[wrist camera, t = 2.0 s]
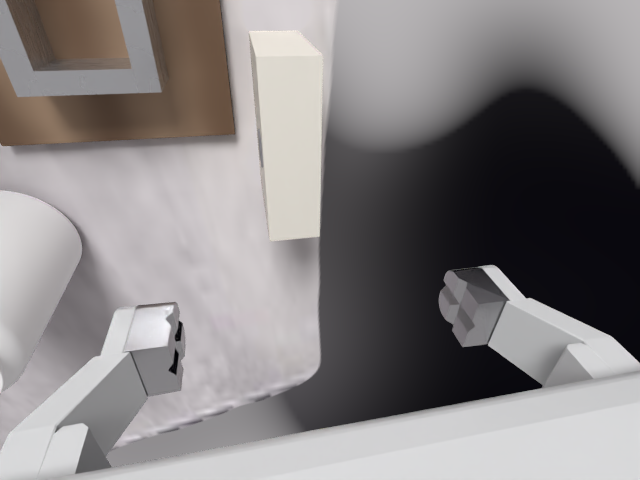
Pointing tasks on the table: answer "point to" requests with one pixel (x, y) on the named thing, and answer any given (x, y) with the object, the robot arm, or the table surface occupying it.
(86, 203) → the table surface
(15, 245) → the beverage can
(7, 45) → the bottom track
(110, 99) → the track board
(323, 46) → the table surface
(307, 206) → the door panel
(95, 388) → the robot arm
